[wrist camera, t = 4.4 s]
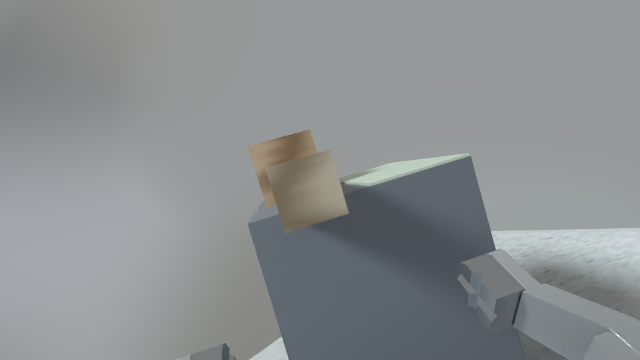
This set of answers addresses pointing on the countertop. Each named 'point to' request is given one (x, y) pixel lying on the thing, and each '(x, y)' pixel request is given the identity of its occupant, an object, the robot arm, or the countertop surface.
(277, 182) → the mallet
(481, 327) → the stand
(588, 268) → the countertop surface
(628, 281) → the countertop surface
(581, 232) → the countertop surface
